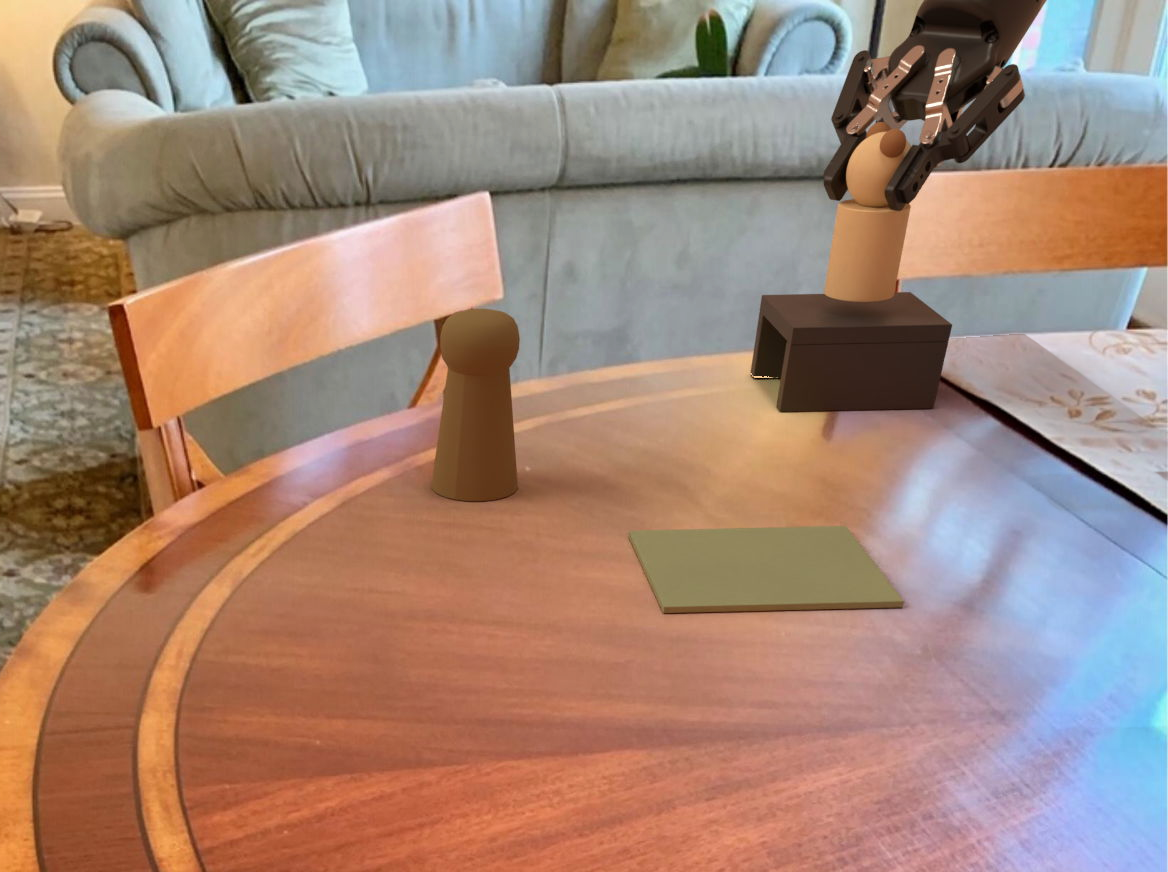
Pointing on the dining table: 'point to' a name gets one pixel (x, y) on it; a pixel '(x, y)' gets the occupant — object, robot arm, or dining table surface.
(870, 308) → the brown u-shaped bridge
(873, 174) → the toy bear
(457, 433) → the brown pepper mill
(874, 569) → the mat
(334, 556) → the dining table surface
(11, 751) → the dining table surface
